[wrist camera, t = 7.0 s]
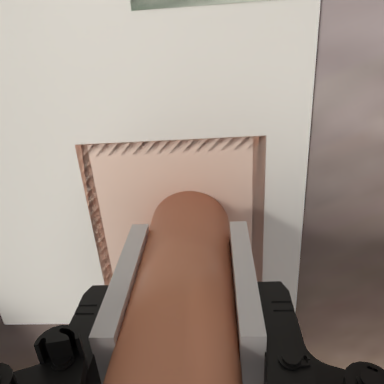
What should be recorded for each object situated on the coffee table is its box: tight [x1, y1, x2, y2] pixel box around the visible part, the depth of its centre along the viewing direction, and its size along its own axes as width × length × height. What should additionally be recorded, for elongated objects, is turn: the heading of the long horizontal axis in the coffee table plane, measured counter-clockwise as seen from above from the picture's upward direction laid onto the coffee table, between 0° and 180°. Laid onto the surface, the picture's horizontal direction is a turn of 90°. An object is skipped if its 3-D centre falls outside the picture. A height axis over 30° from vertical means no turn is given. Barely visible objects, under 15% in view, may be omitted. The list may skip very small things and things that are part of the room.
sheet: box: [0, 0, 321, 325], centre depth 16 cm, size 18×26×1 cm
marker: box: [103, 191, 243, 384], centre depth 12 cm, size 4×4×14 cm
